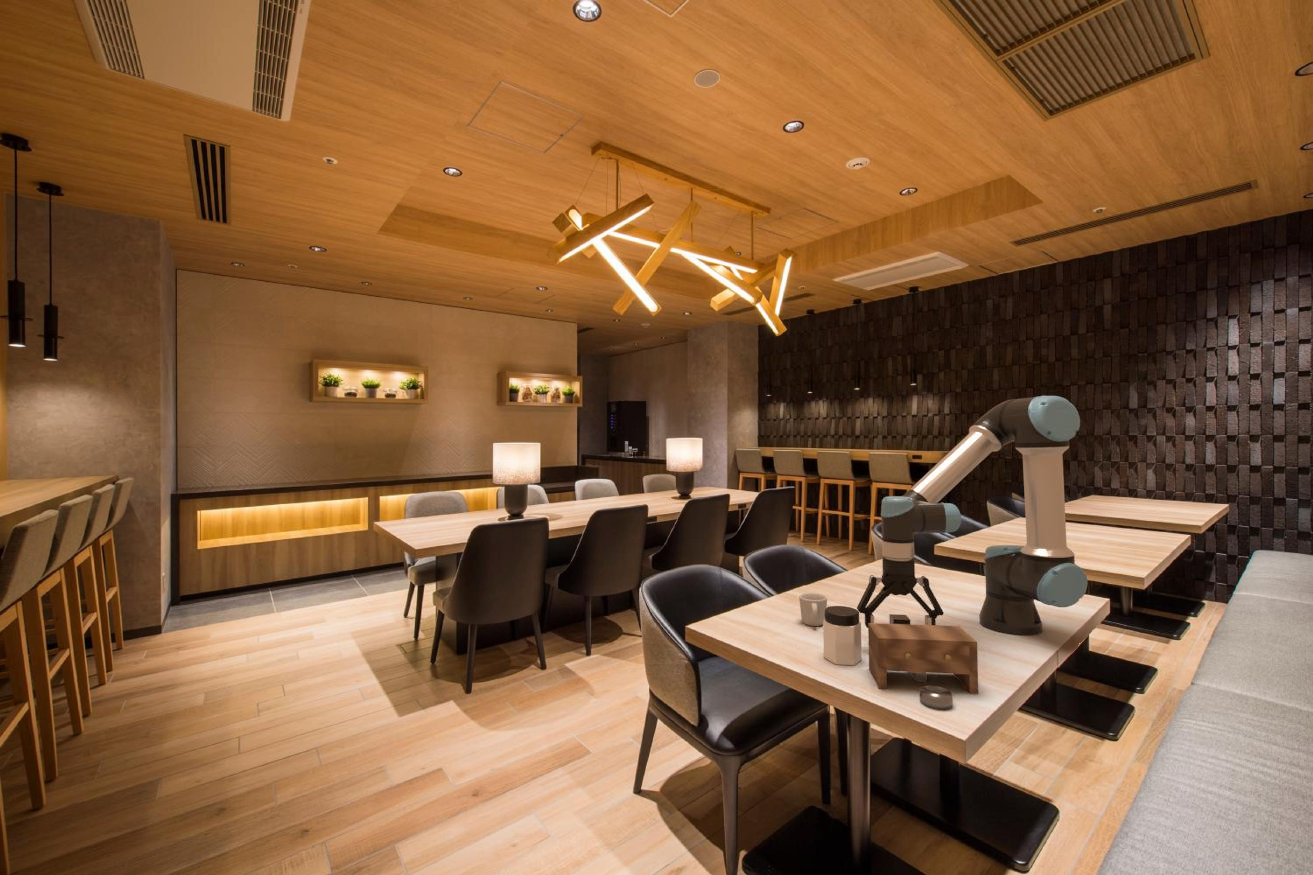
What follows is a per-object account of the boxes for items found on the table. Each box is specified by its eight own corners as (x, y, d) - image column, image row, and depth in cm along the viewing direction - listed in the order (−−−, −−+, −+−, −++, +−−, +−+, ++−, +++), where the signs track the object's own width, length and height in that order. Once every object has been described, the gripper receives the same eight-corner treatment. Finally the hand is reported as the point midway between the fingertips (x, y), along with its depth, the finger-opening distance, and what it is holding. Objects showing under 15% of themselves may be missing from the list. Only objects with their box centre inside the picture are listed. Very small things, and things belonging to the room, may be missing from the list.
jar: (833, 649, 143) (832, 603, 143) (865, 657, 138) (864, 608, 138) (819, 660, 136) (818, 611, 137) (852, 668, 131) (851, 618, 131)
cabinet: (960, 673, 127) (959, 626, 127) (979, 695, 117) (978, 643, 117) (869, 669, 131) (868, 622, 131) (879, 690, 120) (878, 639, 120)
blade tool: (906, 649, 142) (905, 614, 142) (930, 682, 124) (929, 642, 124) (889, 648, 143) (889, 614, 143) (911, 681, 124) (910, 641, 124)
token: (947, 698, 116) (947, 686, 116) (956, 712, 110) (956, 699, 110) (916, 696, 117) (916, 684, 117) (924, 709, 111) (923, 697, 111)
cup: (830, 632, 156) (829, 603, 157) (800, 630, 158) (800, 602, 158) (826, 619, 167) (825, 593, 167) (799, 618, 169) (798, 592, 169)
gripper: (945, 555, 143) (947, 637, 143) (844, 553, 147) (846, 634, 147) (956, 561, 135) (958, 648, 135) (849, 560, 139) (851, 644, 139)
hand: (900, 641), depth 141 cm, fingers open, 13 cm apart
